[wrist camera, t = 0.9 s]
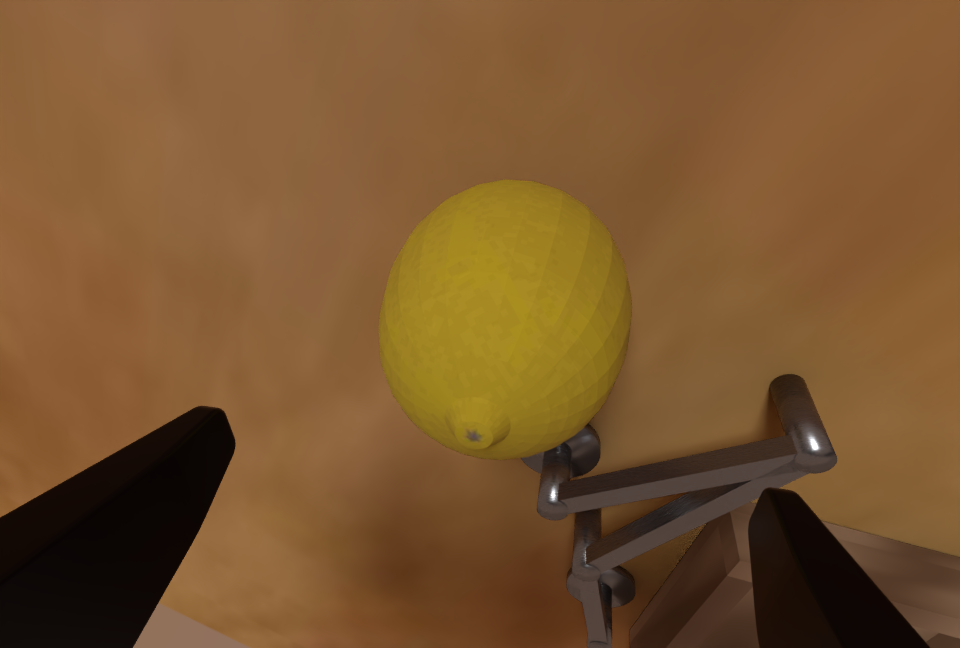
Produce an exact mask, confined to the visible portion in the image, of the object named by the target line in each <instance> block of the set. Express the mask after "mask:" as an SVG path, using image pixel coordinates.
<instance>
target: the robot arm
mask: <svg viewBox="0 0 960 648" xmlns="http://www.w3.org/2000/svg"><path fill="white" fill-rule="evenodd" d="M234 450H235V438H234V435H233V432H232V430H231V427H230V424H229V422H228V419H227V416H226V414H225V412H224V411H223V410H222V409H220V408H215V407H208V406H198V407H195V408H193V409H192V410H190V411H188V412H186V413H184V414H183V415H181V416H179V417H177V418H176V419H174V420H172V421H170V422H169V423H167V424H165V425H163V426H161V427H160V428H158V429H156V430H154V431H153V432H151V433H149V434H147V435H146V436H144V437H142V438H140V439H138V440H137V441H135V442H133V443H131V444H130V445H128V446H126V447H124V448H123V449H121V450H119V451H117V452H115V453H114V454H112V455H110V456H108V457H107V458H105V459H103V460H101V461H100V462H98V463H96V464H94V465H92V466H91V467H89V468H87V469H85V470H84V471H82V472H80V473H78V474H77V475H75V476H73V477H71V478H69V479H68V480H66V481H64V482H62V483H61V484H59V485H57V486H55V487H54V488H52V489H50V490H48V491H46V492H45V493H43V494H41V495H39V496H38V497H36V498H34V499H32V500H31V501H29V502H27V503H25V504H23V505H22V506H20V507H18V508H16V509H15V510H13V511H11V512H9V513H7V514H6V515H4V516H2V517H0V648H133V646H134V645H135V643H136V641H137V639H138V638H139V636H140V634H141V632H142V631H143V629H144V627H145V625H146V624H147V622H148V620H149V618H150V617H151V615H152V613H153V611H154V610H155V608H156V606H157V604H158V603H159V601H160V599H161V597H162V596H163V594H164V592H165V590H166V589H167V587H168V585H169V583H170V581H171V580H172V578H173V576H174V574H175V573H176V571H177V569H178V567H179V566H180V564H181V562H182V560H183V559H184V557H185V555H186V553H187V552H188V550H189V548H190V546H191V545H192V543H193V541H194V539H195V537H196V535H197V533H198V532H199V530H200V528H201V525H202V523H203V521H204V519H205V517H206V515H207V513H208V510H209V508H210V506H211V504H212V501H213V499H214V497H215V495H216V492H217V490H218V488H219V486H220V483H221V481H222V479H223V477H224V474H225V472H226V470H227V468H228V465H229V463H230V461H231V459H232V456H233V454H234ZM748 540H749V551H750V563H751V574H752V586H753V597H754V609H755V620H756V629H757V636H758V642H759V648H931V647H930V646H929V645H928V644H927V643H926V642H925V640H924V639H923V638H922V637H921V636H920V635H919V634H918V632H917V631H916V630H915V629H914V628H913V627H912V625H911V624H910V623H909V622H908V621H907V620H906V618H905V617H904V616H903V615H902V614H901V613H900V612H899V610H898V609H897V608H896V607H895V606H894V605H893V603H892V602H891V601H890V600H889V599H888V598H887V596H886V595H885V594H884V593H883V592H882V591H881V590H880V588H879V587H878V586H877V585H876V584H875V583H874V581H873V580H872V579H871V578H870V577H869V576H868V574H867V573H866V572H865V571H864V570H863V569H862V568H861V566H860V565H859V564H858V563H857V562H856V561H855V559H854V558H853V557H852V556H851V555H850V554H849V552H848V551H847V550H846V549H845V548H844V547H843V545H842V544H841V543H840V542H839V541H838V540H837V539H836V537H835V536H834V535H833V534H832V533H831V532H830V530H829V529H828V528H827V527H826V526H825V525H824V523H823V522H822V521H821V520H820V519H819V518H818V517H817V515H816V514H815V513H814V512H813V511H812V510H811V508H810V507H809V506H808V505H807V504H806V503H805V501H804V500H803V499H802V498H801V497H800V496H799V495H798V494H797V493H795V492H794V491H791V490H786V489H779V488H772V487H768V488H765V489H764V490H763V491H762V493H761V495H760V497H759V500H758V502H757V504H756V506H755V508H754V511H753V513H752V515H751V517H750V520H749V525H748Z"/></svg>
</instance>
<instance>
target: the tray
mask: <svg viewBox="0 0 960 648" xmlns="http://www.w3.org/2000/svg"><path fill="white" fill-rule="evenodd" d="M755 506H756V504H754V503H750V502H748V503H746V504H744V505H742V506H740V507H738V508H736V509H734V510H732V511H730V512H728V513H726V514H724V515H721V516H719V517H717V518H715V519H713V520H711V521H709V522H708V523H707V525H706V526H705V527H704V529H703V530H702V531H701V533H700V534H699V536H698V537H697V538H696V540H695V541H694V542H693V544H692V545H691V547H690V548H689V549H688V551H687V552H686V553H685V555H684V556H683V558H682V559H681V560H680V562H679V563H678V564H677V566H676V567H675V569H674V570H673V571H672V573H671V574H670V576H669V577H668V578H667V580H666V581H665V582H664V584H663V585H662V587H661V588H660V589H659V591H658V592H657V593H656V595H655V596H654V598H653V599H652V600H651V602H650V603H649V604H648V606H647V607H646V609H645V610H644V611H643V613H642V614H641V615H640V617H639V618H638V620H637V621H636V622H635V624H634V625H633V627H632V628H631V629H630V631H629V636H630V648H759V642H758V636H757V629H756V620H755V609H754V597H753V586H752V574H751V563H750V551H749V540H748V525H749V520H750V517H751V515H752V513H753V511H754V508H755ZM822 522H823V521H822ZM823 523H824V525H825V526H826V527H827V528H828V529H829V530H830V532H831V533H832V534H833V535H834V536H835V537H836V539H837V540H838V541H839V542H840V543H841V544H842V545H843V547H844V548H845V549H846V550H847V551H848V552H849V554H850V555H851V556H852V557H853V558H854V559H855V561H856V562H857V563H858V564H859V565H860V566H861V568H862V569H863V570H864V571H865V572H866V573H867V574H868V576H869V577H870V578H871V579H872V580H873V581H874V583H875V584H876V585H877V586H878V587H879V588H880V590H881V591H882V592H883V593H884V594H885V595H886V596H887V598H888V599H889V600H890V601H891V602H892V603H893V605H894V606H895V607H896V608H897V609H898V610H899V612H900V613H901V614H902V615H903V616H904V617H905V618H906V620H907V621H908V622H909V623H910V624H911V625H912V627H913V628H914V629H915V630H916V631H917V632H918V634H919V635H920V636H921V637H922V638H923V639H924V640H925V642H926V643H927V644H928V645H929V646H930V647H931V648H960V557H956V556H952V555H948V554H944V553H941V552H937V551H933V550H929V549H925V548H922V547H918V546H914V545H910V544H906V543H903V542H899V541H895V540H891V539H887V538H884V537H880V536H876V535H872V534H868V533H865V532H861V531H857V530H853V529H849V528H846V527H842V526H838V525H834V524H830V523H827V522H823Z"/></svg>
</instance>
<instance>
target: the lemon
mask: <svg viewBox="0 0 960 648" xmlns="http://www.w3.org/2000/svg"><path fill="white" fill-rule="evenodd" d="M631 314H632V300H631V292H630V287H629V283H628V278H627V273H626V268H625V264H624V261H623V258H622V256H621V254H620V252H619V250H618V248H617V246H616V244H615V242H614V241H613V239H612V237H611V235H610V233H609V231H608V229H607V228H606V227H605V225H604V224H603V223H602V222H601V221H600V220H599V219H598V218H597V217H596V216H595V215H594V214H593V213H592V212H591V211H590V209H589V208H588V207H587V206H586V205H584V204H583V203H581V202H580V201H578V200H576V199H575V198H573V197H571V196H570V195H568V194H567V193H565V192H563V191H562V190H559V189H556V188H553V187H550V186H547V185H544V184H541V183H538V182H535V181H521V180H506V179H505V180H500V181H495V182H489V183H484V184H478V185H476V186H474V187H472V188H470V189H467V190H465V191H463V192H461V193H459V194H457V195H455V196H452V197H450V198H448V199H447V200H446V201H444V202H443V203H442V204H441V205H439V206H438V207H437V208H436V209H435V210H434V211H432V212H431V213H430V214H429V215H428V216H427V217H425V218H424V219H423V220H422V221H421V222H420V223H419V224H418V225H417V226H416V228H415V229H414V231H413V232H412V233H411V235H410V237H409V238H408V240H407V241H406V243H405V245H404V246H403V248H402V249H401V251H400V253H399V254H398V256H397V258H396V260H395V262H394V264H393V266H392V269H391V272H390V275H389V279H388V282H387V286H386V290H385V294H384V298H383V302H382V306H381V311H380V318H379V344H380V357H381V365H382V367H383V370H384V373H385V376H386V378H387V381H388V384H389V387H390V389H391V392H392V394H393V396H394V397H395V399H396V400H397V402H398V403H399V405H400V406H401V408H402V409H403V411H404V412H405V413H406V415H407V416H408V417H409V419H410V420H411V421H412V422H413V423H414V424H416V425H417V426H418V427H419V428H420V429H421V430H422V431H423V432H424V433H425V434H427V435H428V436H429V437H431V438H433V439H434V440H436V441H437V442H439V443H440V444H442V445H444V446H445V447H447V448H450V449H452V450H455V451H457V452H459V453H462V454H465V455H469V456H473V457H477V458H482V459H495V460H507V459H515V458H523V457H529V456H532V455H535V454H538V453H541V452H544V451H547V450H550V449H552V448H555V447H557V446H558V445H560V444H562V443H563V442H565V441H566V440H568V439H570V438H571V437H573V436H574V435H576V434H577V433H578V432H579V431H580V430H582V429H583V428H584V427H585V426H586V424H587V423H588V422H589V421H590V420H591V419H592V418H593V417H594V416H595V414H596V413H597V412H598V411H599V410H600V408H601V407H602V406H603V404H604V403H605V401H606V399H607V397H608V395H609V393H610V391H611V389H612V387H613V385H614V383H615V380H616V378H617V376H618V374H619V372H620V369H621V367H622V364H623V362H624V359H625V355H626V351H627V346H628V341H629V332H630V323H631Z"/></svg>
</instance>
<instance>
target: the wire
mask: <svg viewBox="0 0 960 648" xmlns="http://www.w3.org/2000/svg"><path fill="white" fill-rule="evenodd" d="M770 391H771V394H772V397H773V400H774V403H775V406H776V409H777V412H778V415H779V418H780V421H781V423H782V426H783V429H784V432H785V435H786V436H782V437H777V438H773V439H768V440H763V441H758V442H754V443H749V444H744V445H739V446H735V447H730V448H725V449H720V450H716V451H711V452H706V453H701V454H697V455H692V456H687V457H682V458H678V459H673V460H668V461H663V462H658V463H654V464H649V465H644V466H639V467H635V468H630V469H625V470H620V471H616V472H611V473H606V474H601V475H597V476H592V477H587V478H582V479H578V480H573V481H570V478H572V477H577V476H581V475H583V474H585V473H587V472H589V471H591V470H592V469H593V468H594V467H595V466H596V464H597V463H598V461H599V458H600V439H599V436H598V434H597V433H596V431H595V430H594V429H593V427H591V426H590V425H589V424H588V423H587V424H586V426H585V427H584V428H583V429H582V430H580V431H579V432H578V433H577V434H576V435H574V436H573V437H571V438H570V439H568V440H566V441H565V442H563V443H562V444H560V445H558V446H557V447H555V448H552V449H550V450H547V451H544V452H541V453H538V454H535V455H532V456H529V457H523V458H521V459H522V460H523V462H524V463H525V464H526V465H527V466H529V467H530V468H531V469H533V470H534V471H536V472H538V473H541V479H540V487H539V495H538V503H537V512H538V513H539V514H540V515H541V516H542V517H544V518H546V519H549V520H560V519H563V518H565V517H566V516H567V514H570V513H575V529H574V546H573V563H572V568H571V569H570V570H569V571H568V574H567V584H566V585H567V590H568V591H569V593H570V594H571V595H572V596H573V597H574V598H576V599H577V600H579V601H581V602H582V604H583V610H584V615H585V620H586V625H587V630H588V634H587V648H612V607H619V606H622V605H625V604H627V603H629V602H630V601H631V600H632V599H633V598H634V596H635V581H634V579H633V577H632V575H631V574H630V573H629V572H627V571H626V570H625V569H623V568H621V567H619V566H618V565H620V564H622V563H624V562H626V561H628V560H630V559H632V558H634V557H636V556H638V555H641V554H643V553H645V552H647V551H649V550H651V549H653V548H655V547H657V546H659V545H661V544H663V543H665V542H667V541H670V540H672V539H674V538H676V537H678V536H680V535H682V534H684V533H686V532H688V531H690V530H692V529H694V528H697V527H699V526H701V525H703V524H705V523H707V522H709V521H711V520H713V519H715V518H717V517H719V516H721V515H724V514H726V513H728V512H730V511H732V510H734V509H736V508H738V507H740V506H742V505H744V504H746V503H748V502H750V501H753V500H755V499H757V498H759V497H760V495H761V493H762V491H763V490H764V489H765V488H768V487H772V488H780V487H782V486H784V485H786V484H788V483H790V482H792V481H794V480H796V479H798V478H800V477H802V476H804V475H806V474H809V473H822V472H825V471H828V470H830V469H831V468H832V467H834V466H835V464H836V462H837V456H836V454H835V452H834V449H833V447H832V444H831V442H830V440H829V437H828V435H827V433H826V430H825V428H824V426H823V423H822V421H821V418H820V416H819V414H818V411H817V409H816V407H815V404H814V402H813V400H812V397H811V395H810V392H809V390H808V388H807V385H806V383H805V381H804V379H803V378H801V377H800V376H797V375H793V374H787V375H782V376H779V377H777V378H776V379H775V380H773V381H772V383H771V385H770ZM689 491H691V492H689ZM684 492H689V493H687V494H685V495H683V496H681V497H679V498H678V499H676V500H674V501H672V502H670V503H668V504H666V505H664V506H662V507H661V508H659V509H657V510H655V511H653V512H651V513H649V514H647V515H646V516H644V517H642V518H640V519H638V520H636V521H634V522H632V523H630V524H629V525H627V526H625V527H623V528H621V529H619V530H617V531H615V532H613V533H612V534H610V535H608V536H606V537H604V538H602V539H601V508H602V507H608V506H613V505H619V504H624V503H630V502H635V501H640V500H646V499H651V498H657V497H662V496H668V495H673V494H679V493H684Z"/></svg>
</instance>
